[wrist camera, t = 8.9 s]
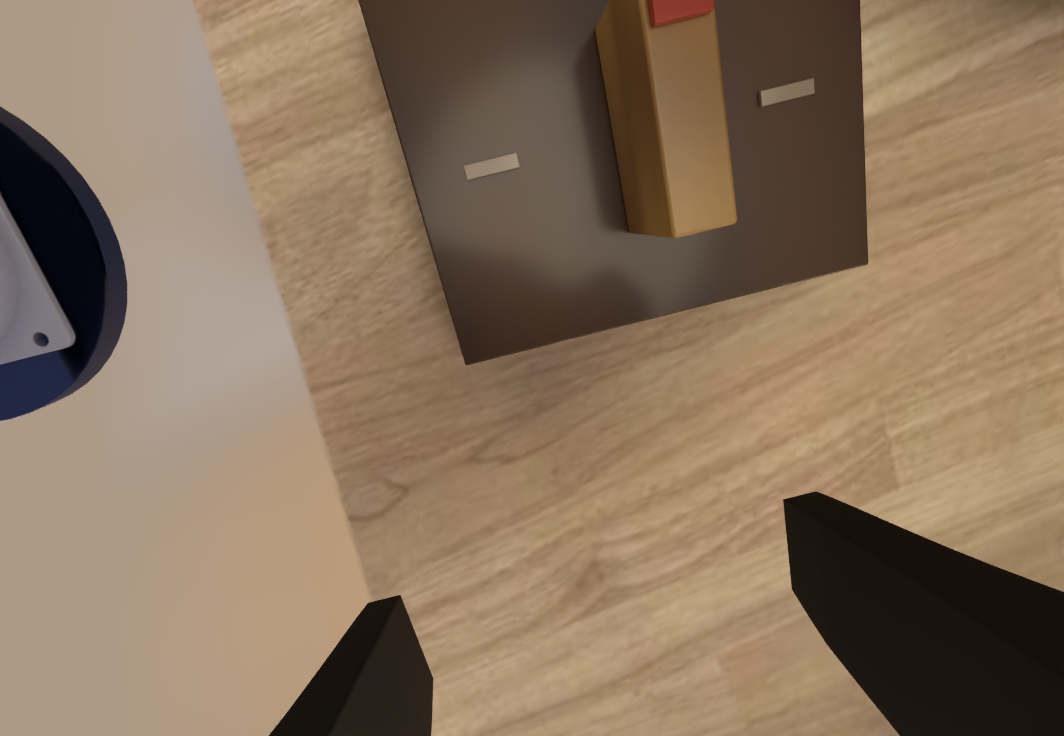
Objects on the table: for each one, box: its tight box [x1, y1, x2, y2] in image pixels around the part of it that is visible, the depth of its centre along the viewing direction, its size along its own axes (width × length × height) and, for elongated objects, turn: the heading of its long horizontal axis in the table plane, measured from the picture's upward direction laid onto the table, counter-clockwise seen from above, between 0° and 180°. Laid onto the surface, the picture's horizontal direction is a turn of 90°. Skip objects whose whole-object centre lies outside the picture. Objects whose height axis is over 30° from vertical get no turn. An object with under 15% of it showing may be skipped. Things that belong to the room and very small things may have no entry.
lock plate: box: [359, 0, 868, 365], centre depth 14 cm, size 12×10×3 cm
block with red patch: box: [595, 0, 737, 238], centre depth 11 cm, size 5×1×4 cm, turn 13°
